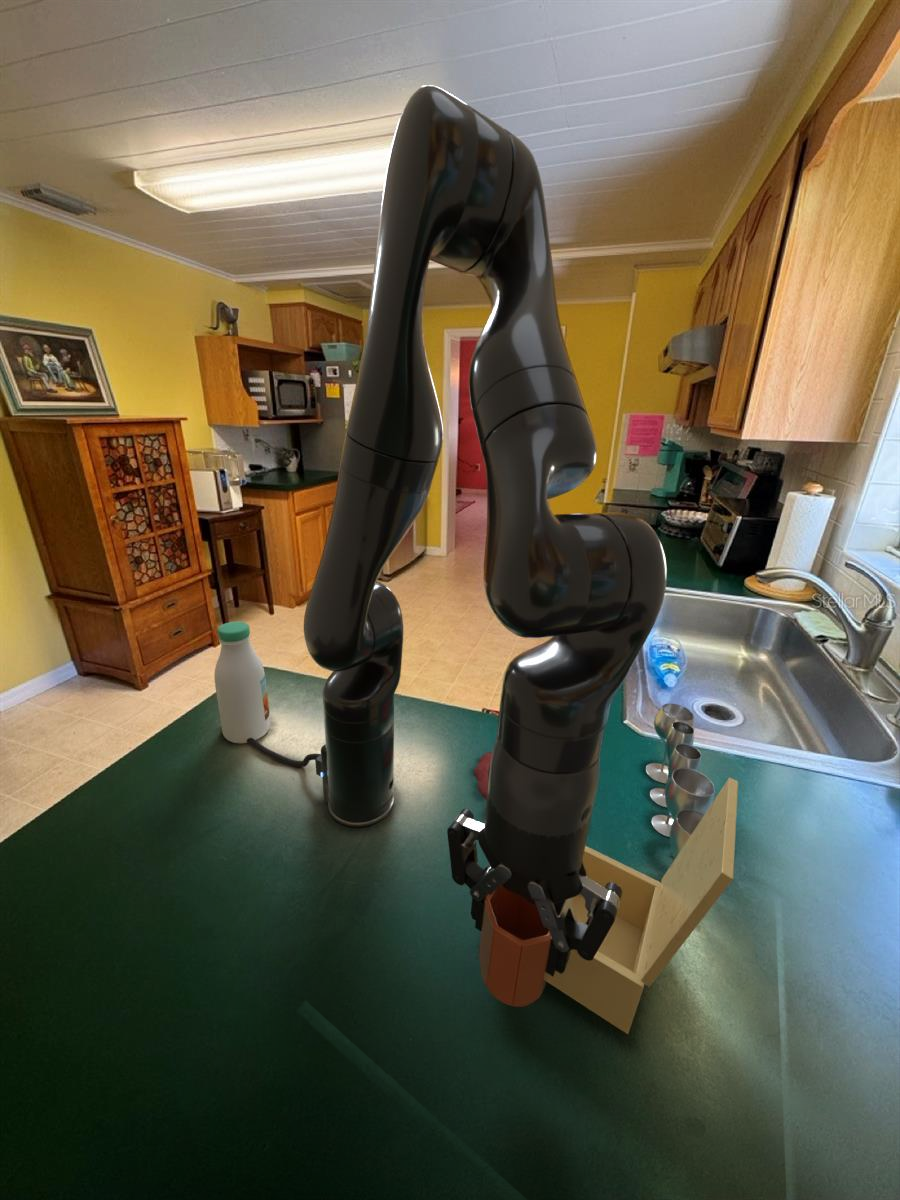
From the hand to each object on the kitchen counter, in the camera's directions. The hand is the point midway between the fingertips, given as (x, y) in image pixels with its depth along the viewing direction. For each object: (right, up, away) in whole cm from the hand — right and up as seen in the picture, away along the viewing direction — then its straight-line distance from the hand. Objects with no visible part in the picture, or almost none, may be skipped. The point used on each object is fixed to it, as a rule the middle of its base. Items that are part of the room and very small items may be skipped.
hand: (517, 941), depth 40 cm
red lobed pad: (+5, 0, +31) cm, 32 cm away
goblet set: (+25, -3, +27) cm, 37 cm away
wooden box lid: (+15, +4, +2) cm, 16 cm away
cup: (0, -3, +1) cm, 4 cm away
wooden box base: (+8, -8, +12) cm, 16 cm away
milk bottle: (-41, +6, +42) cm, 59 cm away
